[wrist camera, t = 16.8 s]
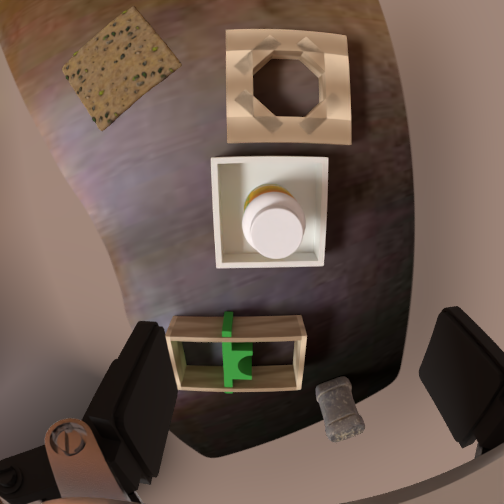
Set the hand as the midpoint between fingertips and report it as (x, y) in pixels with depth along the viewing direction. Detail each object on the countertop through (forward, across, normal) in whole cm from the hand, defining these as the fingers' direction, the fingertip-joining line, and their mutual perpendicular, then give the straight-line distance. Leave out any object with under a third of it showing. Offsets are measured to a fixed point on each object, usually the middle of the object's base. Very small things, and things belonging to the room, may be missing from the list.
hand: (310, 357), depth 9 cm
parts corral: (+24, +4, +18) cm, 30 cm away
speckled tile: (+25, +17, -18) cm, 35 cm away
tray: (+24, 0, 0) cm, 24 cm away
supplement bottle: (+24, 0, 0) cm, 24 cm away
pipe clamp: (+24, +4, +18) cm, 30 cm away
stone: (+24, -10, +27) cm, 38 cm away
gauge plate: (+24, -2, -13) cm, 27 cm away
